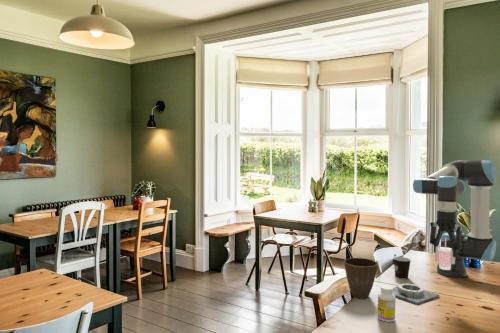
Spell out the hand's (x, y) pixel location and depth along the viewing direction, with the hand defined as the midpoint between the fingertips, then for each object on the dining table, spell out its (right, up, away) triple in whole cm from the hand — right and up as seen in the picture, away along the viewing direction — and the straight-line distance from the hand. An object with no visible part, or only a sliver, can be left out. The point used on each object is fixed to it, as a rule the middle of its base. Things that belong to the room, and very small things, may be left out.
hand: (445, 262), depth 174 cm
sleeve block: (-11, -18, +10) cm, 24 cm away
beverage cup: (0, -3, 0) cm, 3 cm away
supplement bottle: (-33, -19, -18) cm, 42 cm away
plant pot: (-36, -18, +8) cm, 41 cm away
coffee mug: (-4, -18, +39) cm, 43 cm away
